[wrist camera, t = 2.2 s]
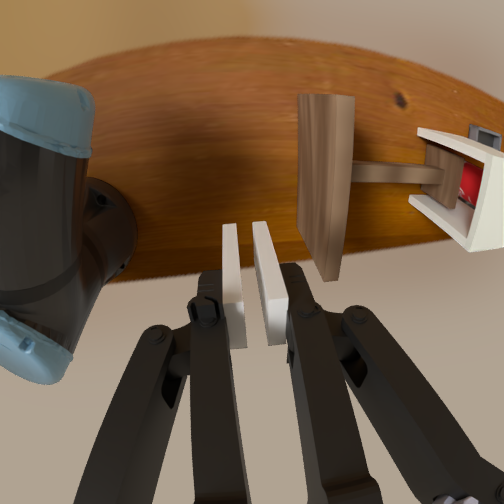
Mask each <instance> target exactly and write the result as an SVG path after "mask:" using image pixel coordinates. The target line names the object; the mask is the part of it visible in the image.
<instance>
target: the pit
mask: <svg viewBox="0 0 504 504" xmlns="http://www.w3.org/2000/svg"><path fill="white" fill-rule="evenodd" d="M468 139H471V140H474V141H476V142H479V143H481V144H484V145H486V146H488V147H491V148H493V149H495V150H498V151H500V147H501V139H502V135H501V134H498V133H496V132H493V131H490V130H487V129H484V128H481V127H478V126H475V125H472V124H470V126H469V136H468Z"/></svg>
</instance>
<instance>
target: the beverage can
mask: <svg viewBox="0 0 504 504" xmlns="http://www.w3.org/2000/svg"><path fill="white" fill-rule="evenodd" d="M483 171H484V170H483V169H481V168H479V167H477V166H475V165H473V164H471V163H469V162H467V161H464V167H463V173H462V179H461V184H460V189H459V194H458V195H459V196H460V197H462V198H463V199H465V200H466V201H468V202H469V203H471V204H472V205H474V206H475V207H476V204H477V200H478V196H479V191H480V186H481V182H482V176H483Z"/></svg>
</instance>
